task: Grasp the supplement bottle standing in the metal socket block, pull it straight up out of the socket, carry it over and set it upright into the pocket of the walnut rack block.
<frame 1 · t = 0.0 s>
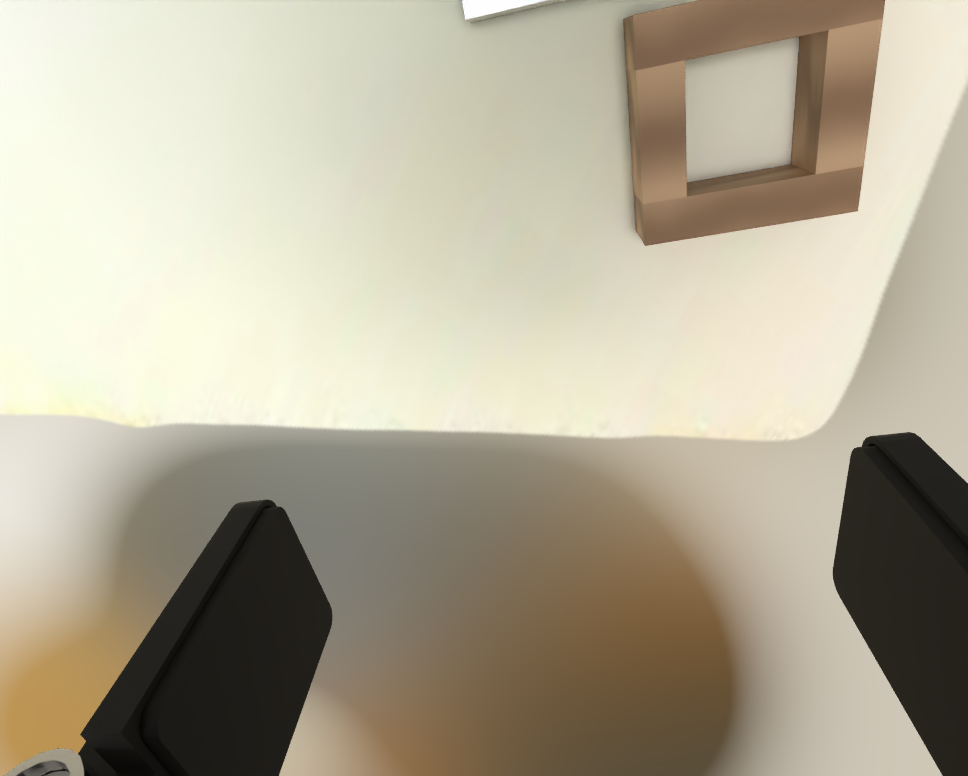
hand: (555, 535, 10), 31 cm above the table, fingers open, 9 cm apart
rack block: (732, 114, 34), on the table
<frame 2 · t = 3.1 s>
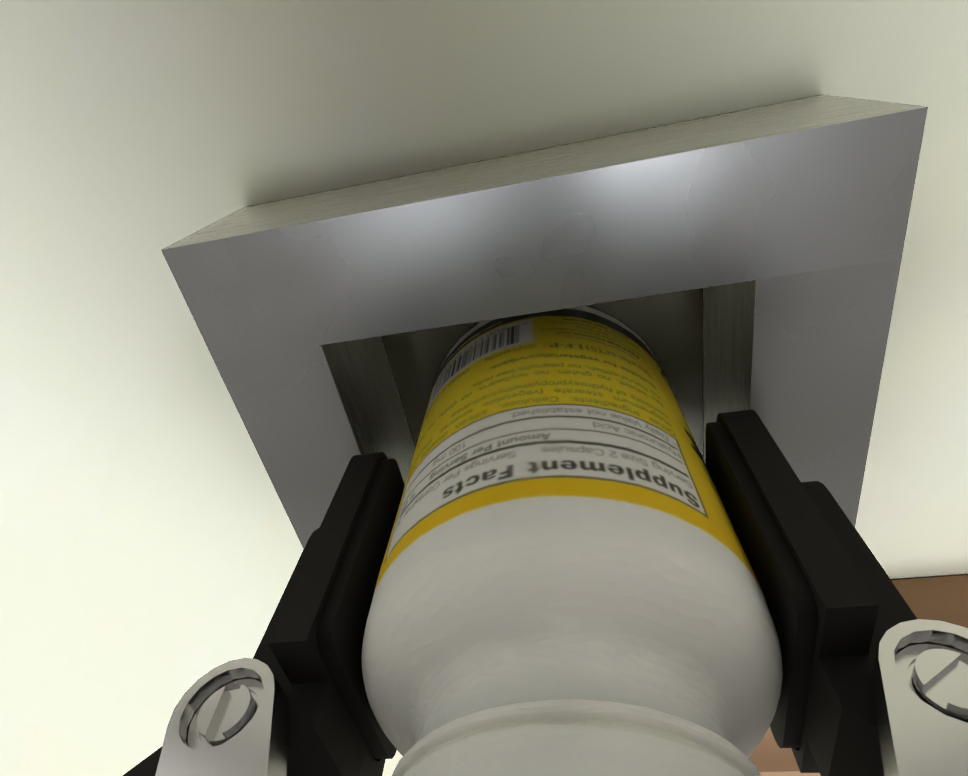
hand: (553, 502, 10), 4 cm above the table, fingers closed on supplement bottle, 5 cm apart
socket block: (549, 401, 13), on the table
supplement bottle: (548, 397, 13), resting in socket block, touching gripper
rack block: (881, 707, 18), on the table
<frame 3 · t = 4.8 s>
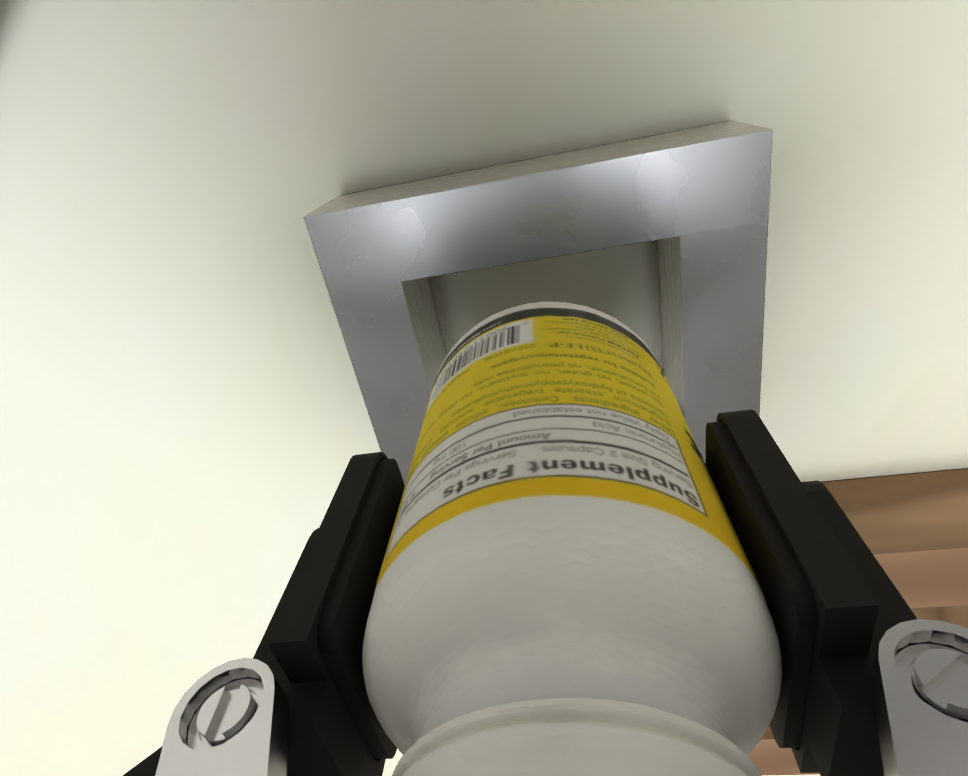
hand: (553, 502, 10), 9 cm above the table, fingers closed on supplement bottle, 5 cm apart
socket block: (550, 338, 18), on the table
supplement bottle: (548, 396, 14), point 5 cm above the table, touching gripper
rack block: (814, 598, 23), on the table
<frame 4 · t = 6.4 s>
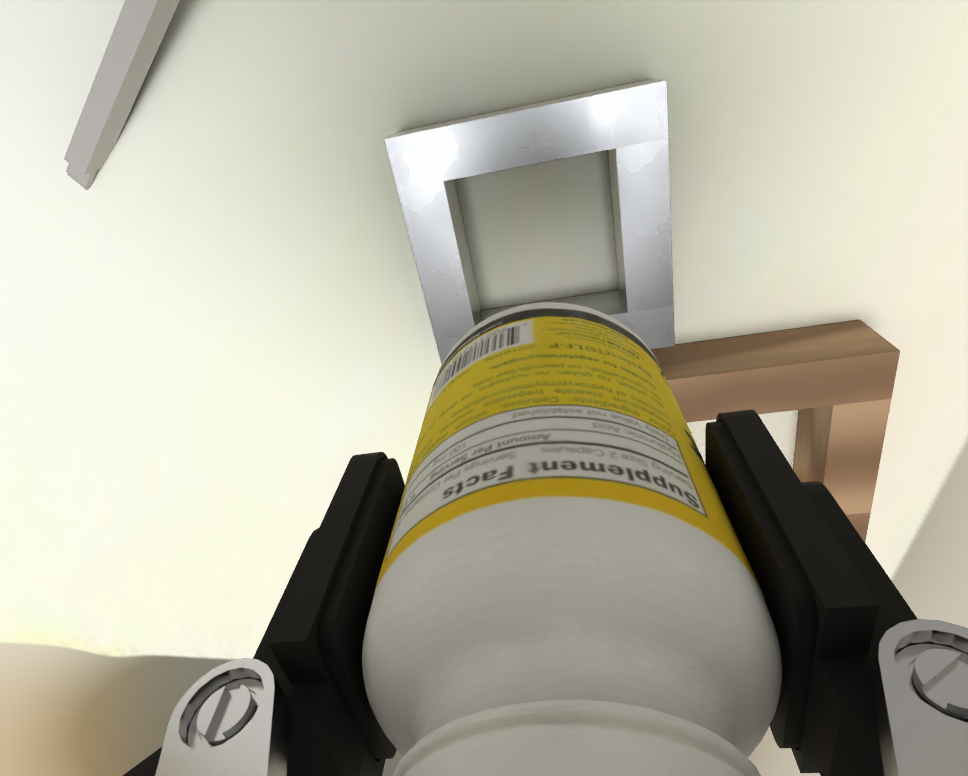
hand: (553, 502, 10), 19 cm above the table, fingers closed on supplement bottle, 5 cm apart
socket block: (539, 232, 27), on the table
supplement bottle: (548, 397, 14), point 16 cm above the table, touching gripper
caliper: (189, 3, 24), on the table
rack block: (730, 433, 32), on the table
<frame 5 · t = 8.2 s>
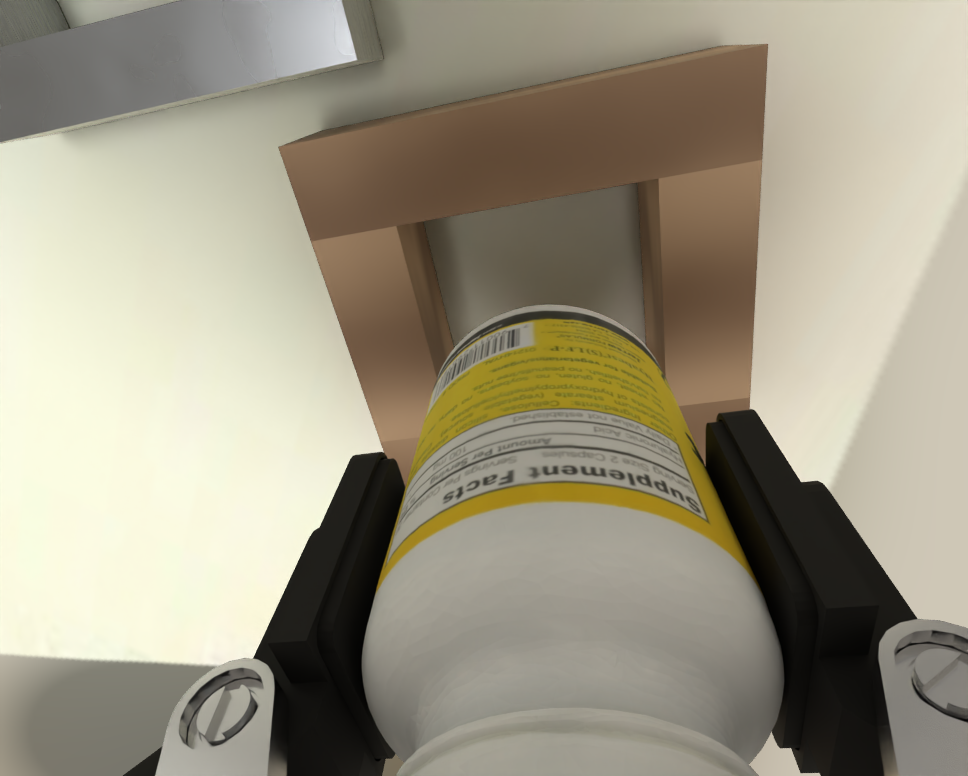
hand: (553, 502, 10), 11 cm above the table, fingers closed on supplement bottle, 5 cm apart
supplement bottle: (549, 399, 13), point 7 cm above the table, touching gripper
rack block: (539, 281, 20), on the table
when the fingers open (5 cm above the table, at t = 9.8 s): supplement bottle drops 1 cm, resting in rack block.
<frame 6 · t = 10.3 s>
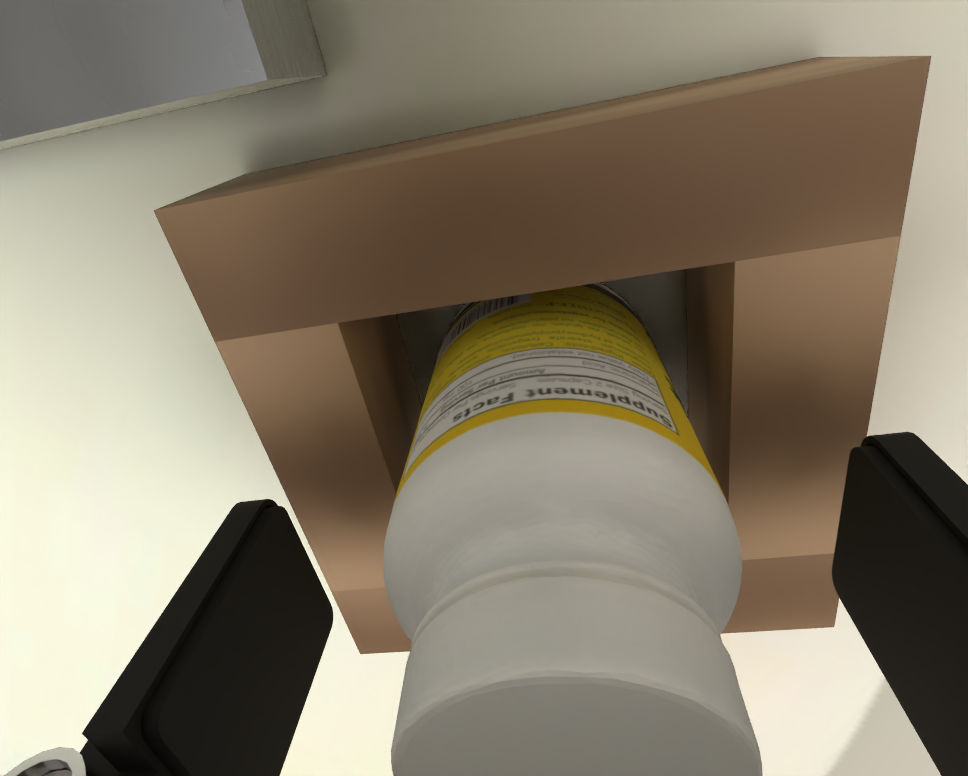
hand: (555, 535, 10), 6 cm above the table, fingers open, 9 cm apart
supplement bottle: (545, 362, 15), resting in rack block
rack block: (547, 372, 15), on the table
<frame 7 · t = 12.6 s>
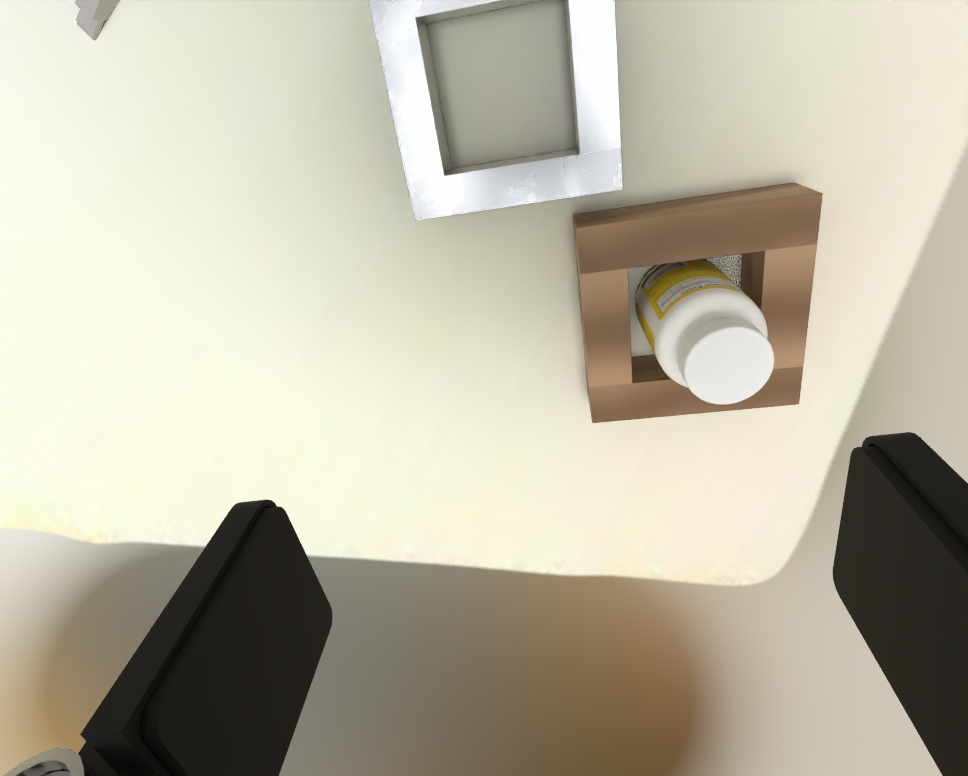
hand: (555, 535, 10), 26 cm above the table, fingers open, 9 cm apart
socket block: (504, 88, 30), on the table
supplement bottle: (679, 296, 35), resting in rack block
rack block: (680, 300, 34), on the table
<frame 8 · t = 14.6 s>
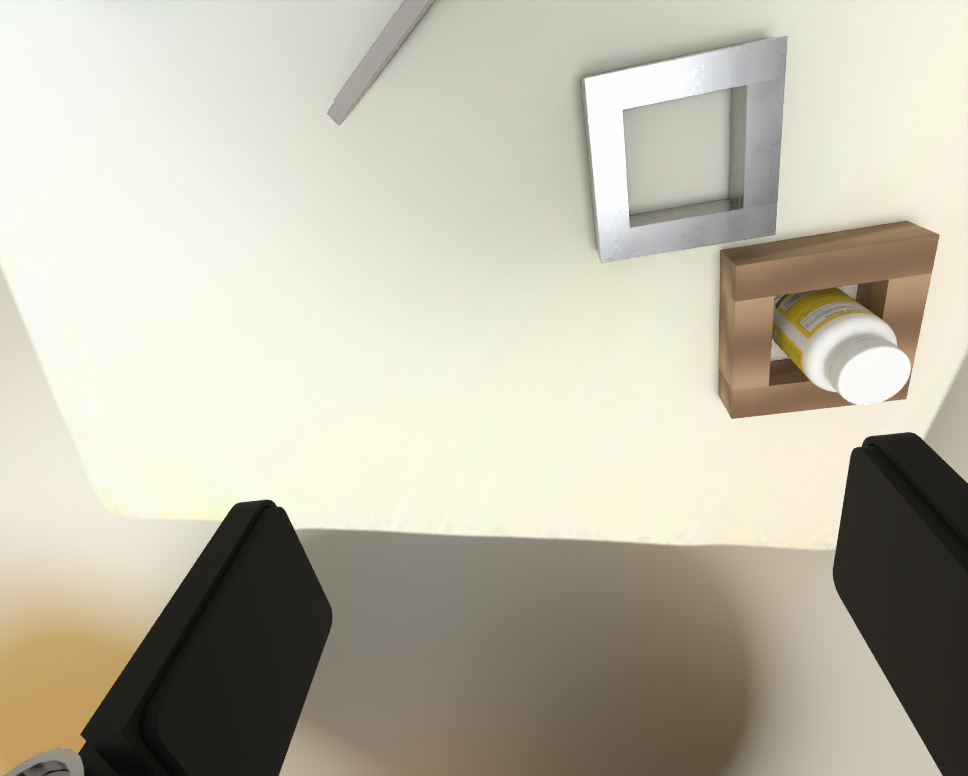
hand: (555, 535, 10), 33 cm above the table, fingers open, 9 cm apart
socket block: (674, 153, 37), on the table
supplement bottle: (802, 312, 42), resting in rack block
rack block: (804, 315, 42), on the table
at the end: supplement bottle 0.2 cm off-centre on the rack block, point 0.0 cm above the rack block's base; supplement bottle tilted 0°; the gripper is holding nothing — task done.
